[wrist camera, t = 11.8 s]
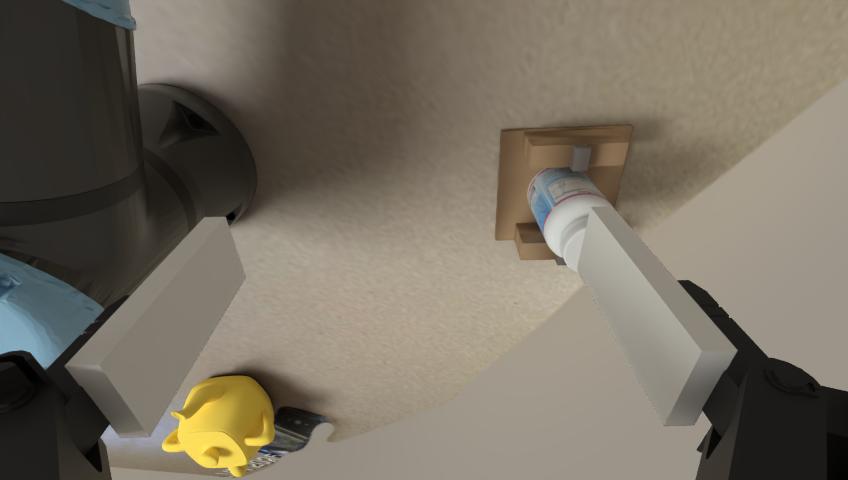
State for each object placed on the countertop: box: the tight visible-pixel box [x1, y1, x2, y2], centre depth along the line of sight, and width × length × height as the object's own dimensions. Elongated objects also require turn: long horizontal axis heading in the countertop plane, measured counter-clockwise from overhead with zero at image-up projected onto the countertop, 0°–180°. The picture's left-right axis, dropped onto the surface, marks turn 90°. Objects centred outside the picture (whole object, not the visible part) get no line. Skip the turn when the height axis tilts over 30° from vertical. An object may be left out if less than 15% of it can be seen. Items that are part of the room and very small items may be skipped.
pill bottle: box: [527, 167, 613, 273], centre depth 35 cm, size 6×6×11 cm
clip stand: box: [495, 125, 633, 265], centre depth 38 cm, size 12×12×6 cm
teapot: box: [162, 376, 275, 477], centre depth 55 cm, size 14×13×10 cm
